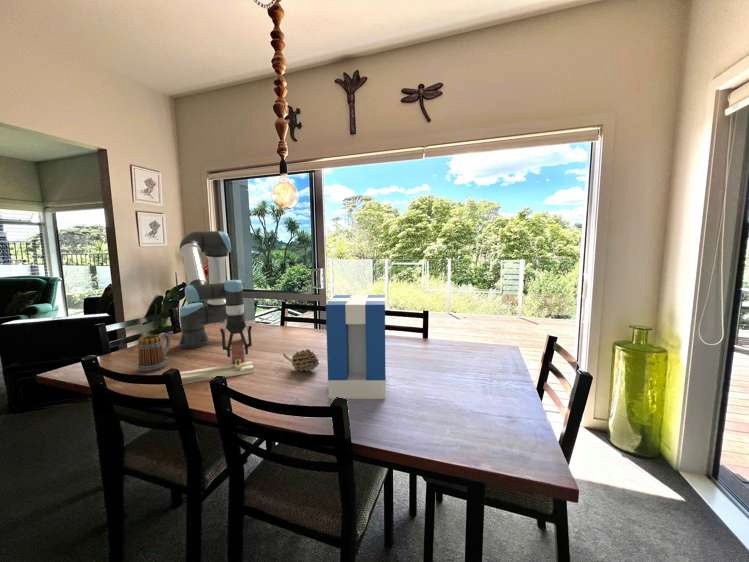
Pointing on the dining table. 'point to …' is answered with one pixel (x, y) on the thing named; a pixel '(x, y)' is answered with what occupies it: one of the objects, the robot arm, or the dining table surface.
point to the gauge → (237, 353)
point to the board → (215, 372)
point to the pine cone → (303, 360)
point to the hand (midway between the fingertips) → (238, 362)
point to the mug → (153, 352)
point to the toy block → (356, 346)
